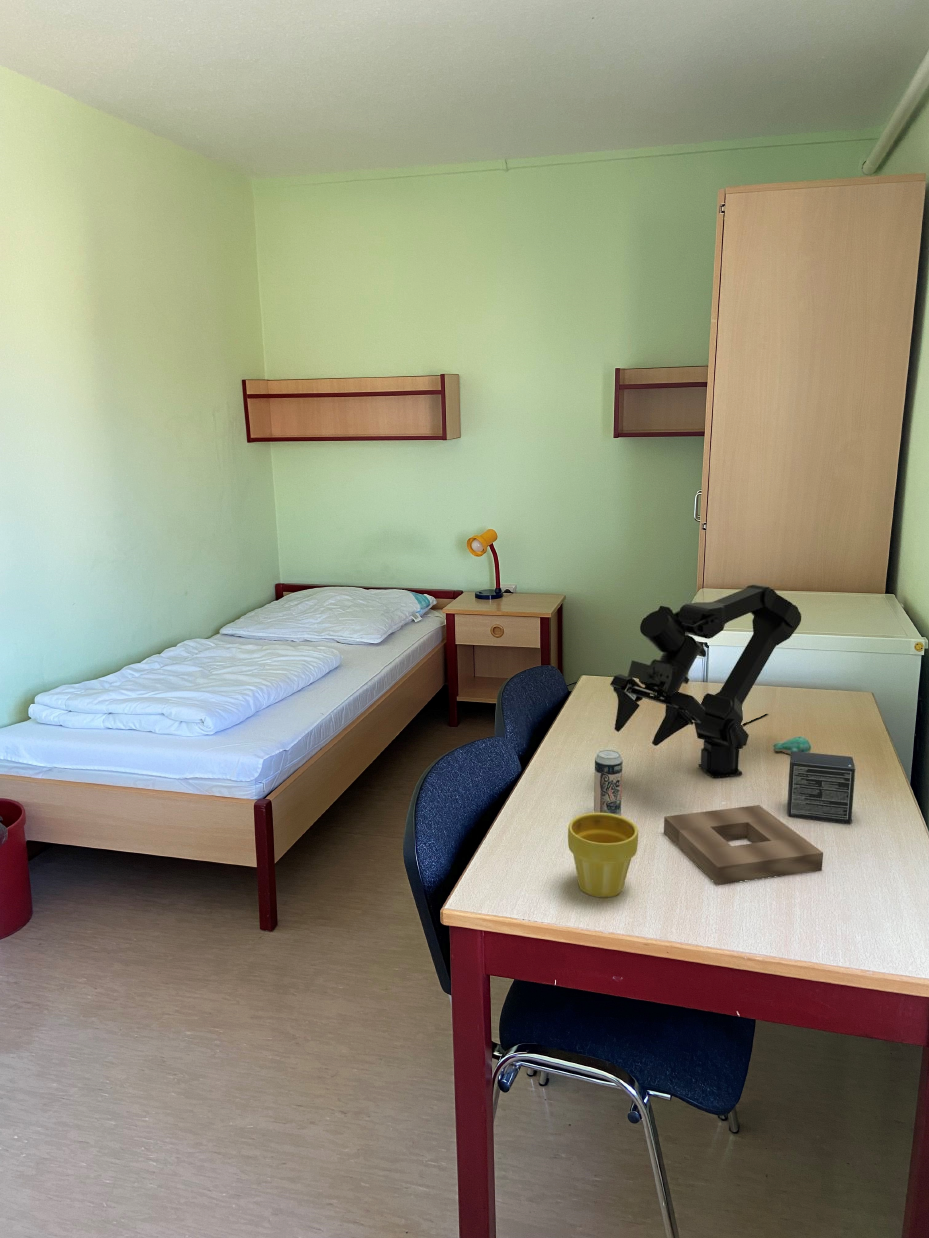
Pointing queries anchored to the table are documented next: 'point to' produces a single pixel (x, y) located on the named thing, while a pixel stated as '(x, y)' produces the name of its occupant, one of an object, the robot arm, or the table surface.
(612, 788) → the beer can
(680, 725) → the robot arm
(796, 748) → the whale figurine
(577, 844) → the plant pot
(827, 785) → the small box
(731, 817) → the holder block
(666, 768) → the table surface
